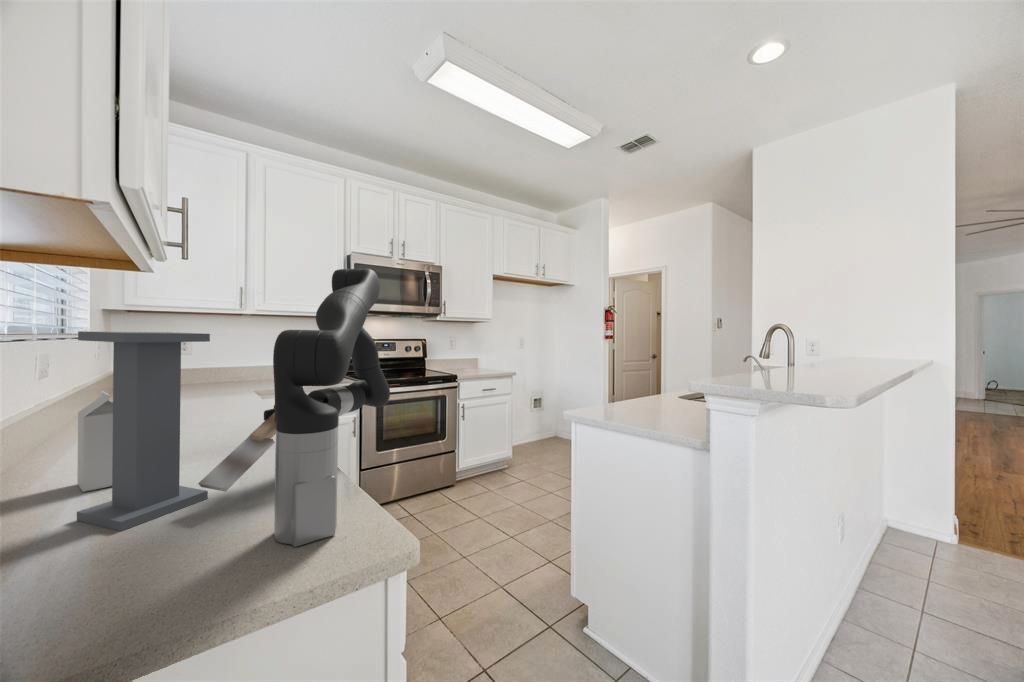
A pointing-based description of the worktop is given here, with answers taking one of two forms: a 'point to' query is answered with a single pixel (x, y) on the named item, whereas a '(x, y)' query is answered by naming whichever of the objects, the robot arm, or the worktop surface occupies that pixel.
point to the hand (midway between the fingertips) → (271, 416)
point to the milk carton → (95, 444)
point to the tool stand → (144, 429)
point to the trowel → (241, 457)
